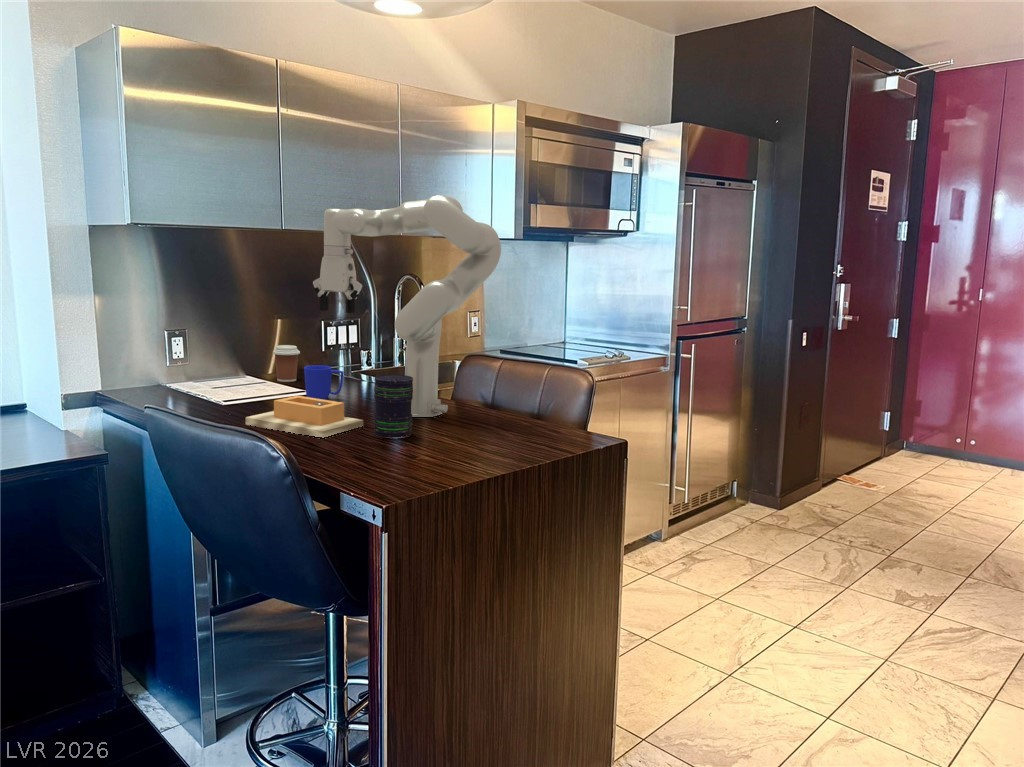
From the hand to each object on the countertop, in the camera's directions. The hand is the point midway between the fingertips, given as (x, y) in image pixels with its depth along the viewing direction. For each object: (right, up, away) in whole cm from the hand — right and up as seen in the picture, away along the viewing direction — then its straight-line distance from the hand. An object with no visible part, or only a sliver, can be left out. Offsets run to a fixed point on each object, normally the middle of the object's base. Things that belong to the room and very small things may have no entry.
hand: (337, 311), depth 222 cm
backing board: (-4, -32, -22) cm, 39 cm away
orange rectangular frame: (-2, -30, -21) cm, 37 cm away
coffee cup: (-28, -20, +44) cm, 56 cm away
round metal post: (+1, -31, -23) cm, 38 cm away
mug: (-8, -26, +15) cm, 31 cm away
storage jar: (+21, -35, -27) cm, 48 cm away
